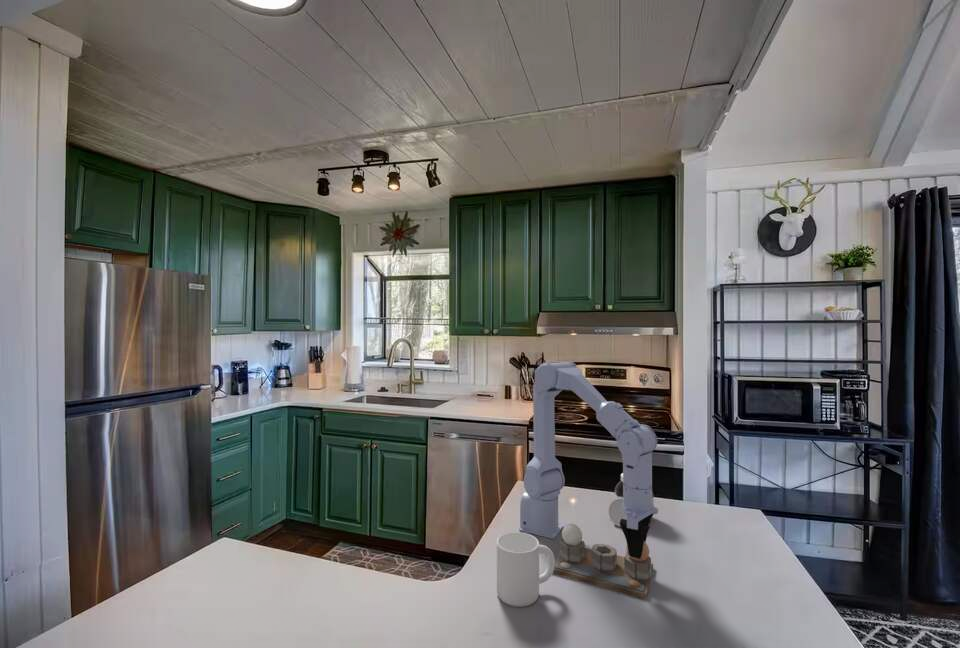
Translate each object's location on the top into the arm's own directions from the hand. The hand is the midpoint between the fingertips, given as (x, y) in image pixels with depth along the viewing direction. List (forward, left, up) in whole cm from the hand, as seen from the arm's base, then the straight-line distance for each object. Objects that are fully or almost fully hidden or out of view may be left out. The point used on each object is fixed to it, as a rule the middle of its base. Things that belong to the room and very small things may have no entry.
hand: (637, 549), depth 90 cm
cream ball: (-14, 0, 0) cm, 14 cm away
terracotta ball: (0, 0, 0) cm, 0 cm away
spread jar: (-5, +27, -6) cm, 28 cm away
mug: (-18, -16, -6) cm, 25 cm away
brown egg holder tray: (-7, -1, -6) cm, 9 cm away
